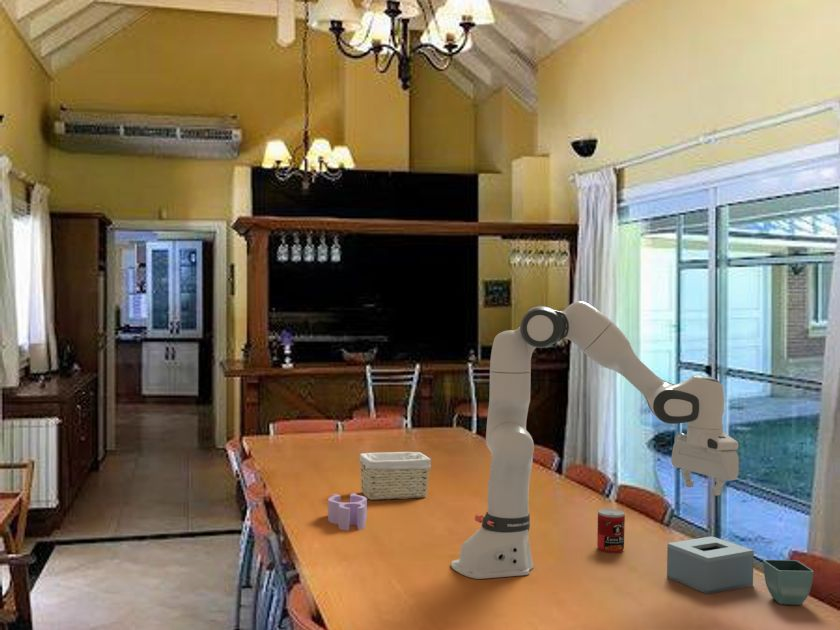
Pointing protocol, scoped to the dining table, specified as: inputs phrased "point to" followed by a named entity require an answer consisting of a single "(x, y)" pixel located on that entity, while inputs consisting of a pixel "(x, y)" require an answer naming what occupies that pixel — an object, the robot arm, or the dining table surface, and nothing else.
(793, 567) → the flower pot
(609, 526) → the canned food
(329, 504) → the clip
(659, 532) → the dining table surface
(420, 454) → the storage basket
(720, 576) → the tissue box
